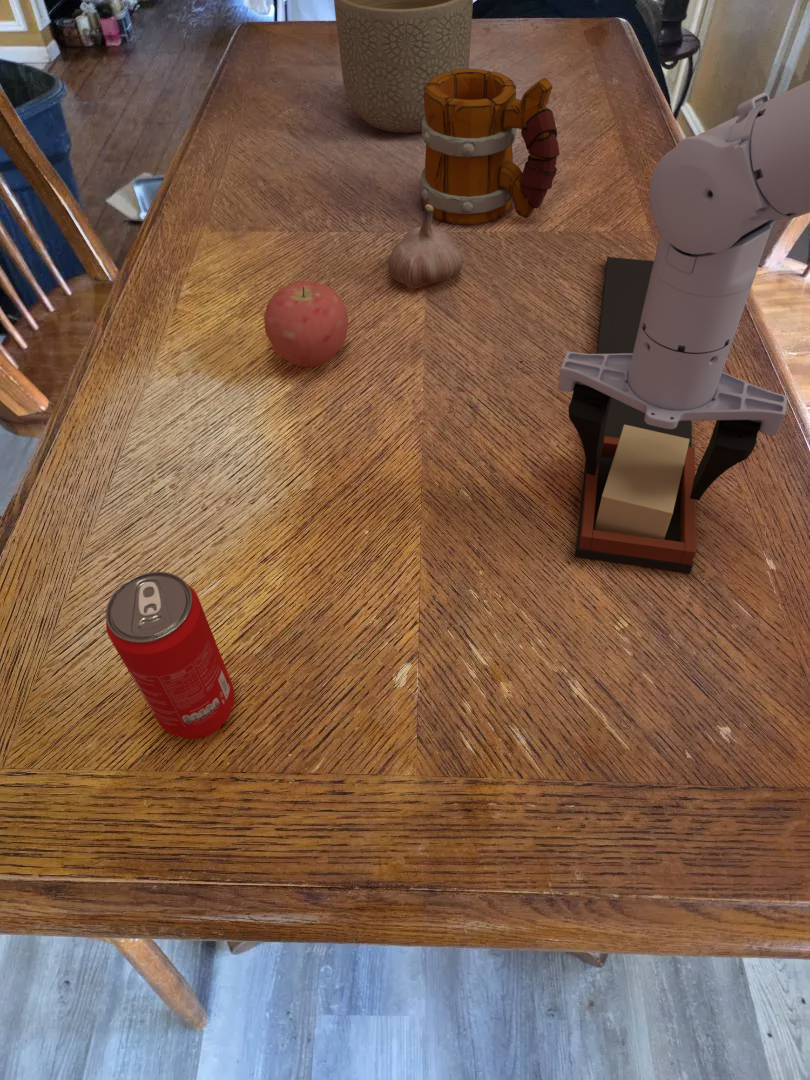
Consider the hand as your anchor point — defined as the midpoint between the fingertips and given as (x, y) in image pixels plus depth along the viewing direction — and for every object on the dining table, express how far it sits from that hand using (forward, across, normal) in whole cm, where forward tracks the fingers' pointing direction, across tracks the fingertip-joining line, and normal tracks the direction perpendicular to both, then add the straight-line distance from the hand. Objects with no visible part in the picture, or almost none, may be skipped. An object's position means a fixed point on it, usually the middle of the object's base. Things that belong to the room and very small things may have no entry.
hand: (644, 477), depth 61 cm
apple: (+4, -32, +9) cm, 34 cm away
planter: (+4, -42, +60) cm, 74 cm away
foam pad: (+3, 0, 0) cm, 3 cm away
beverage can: (+4, -24, -27) cm, 36 cm away
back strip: (+4, -2, +14) cm, 15 cm away
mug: (+4, -25, +41) cm, 48 cm away
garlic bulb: (+4, -27, +25) cm, 37 cm away
